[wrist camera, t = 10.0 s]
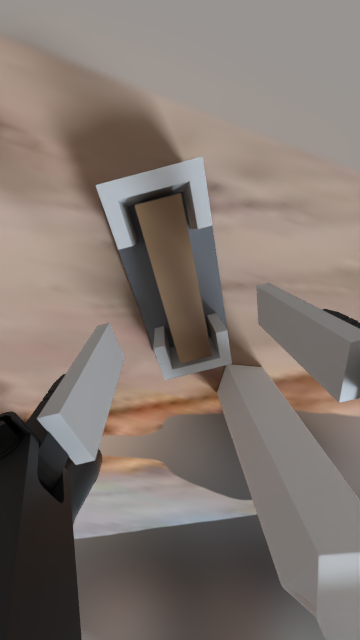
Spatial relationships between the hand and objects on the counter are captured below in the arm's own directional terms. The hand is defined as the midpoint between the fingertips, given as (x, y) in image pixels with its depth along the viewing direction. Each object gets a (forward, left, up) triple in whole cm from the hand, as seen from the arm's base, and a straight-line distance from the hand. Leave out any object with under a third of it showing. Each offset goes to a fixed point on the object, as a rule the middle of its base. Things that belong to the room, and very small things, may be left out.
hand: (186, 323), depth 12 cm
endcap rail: (0, 0, -12) cm, 12 cm away
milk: (+6, -18, -12) cm, 22 cm away
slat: (0, 0, -11) cm, 11 cm away
